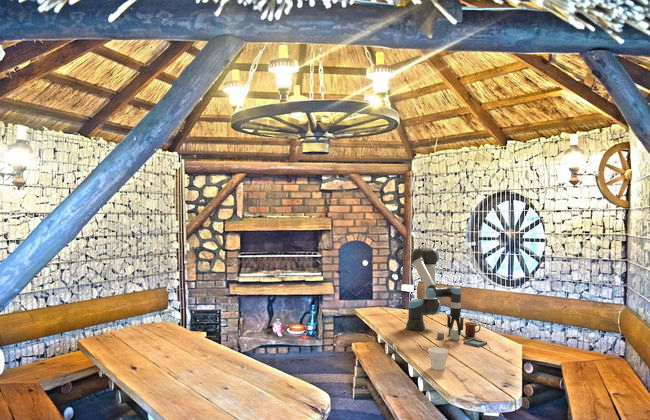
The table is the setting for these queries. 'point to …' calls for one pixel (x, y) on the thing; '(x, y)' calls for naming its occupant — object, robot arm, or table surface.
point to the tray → (475, 342)
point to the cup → (438, 357)
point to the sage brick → (453, 334)
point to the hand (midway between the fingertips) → (454, 338)
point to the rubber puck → (440, 335)
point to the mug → (471, 329)
